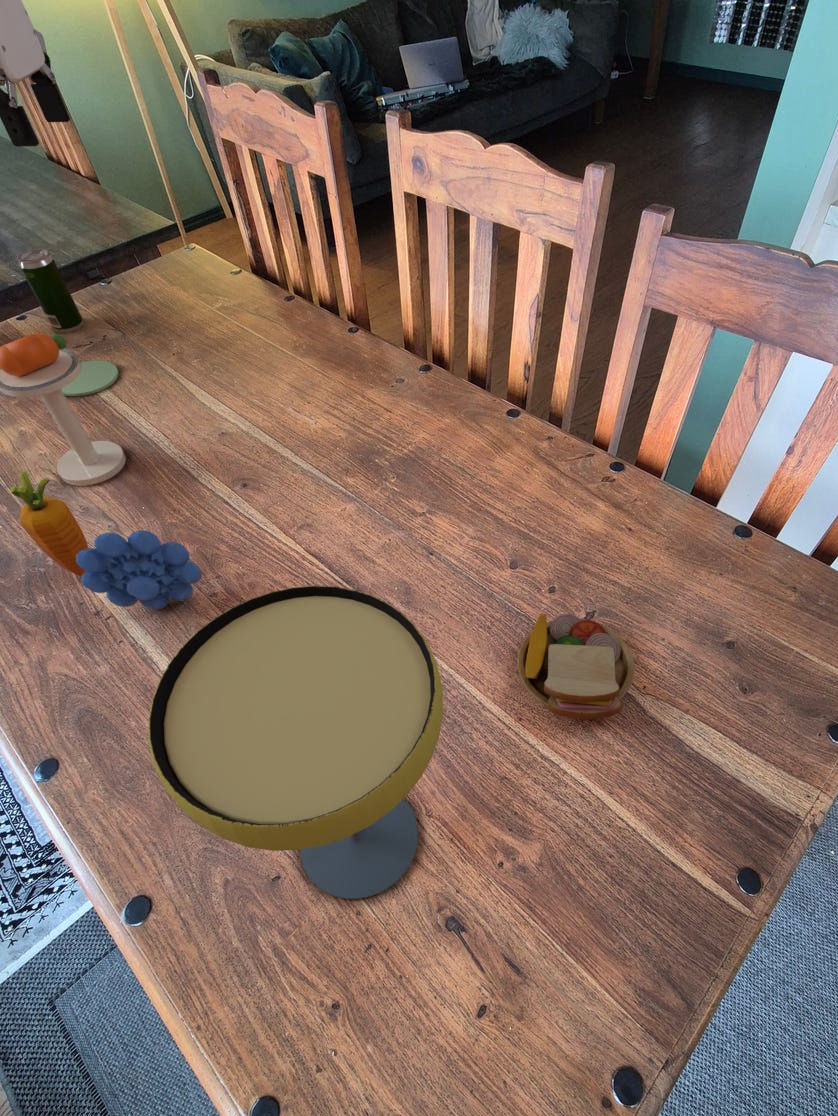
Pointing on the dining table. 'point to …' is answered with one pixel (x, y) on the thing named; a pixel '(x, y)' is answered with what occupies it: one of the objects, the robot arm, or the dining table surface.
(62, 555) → the carrot
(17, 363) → the carrot
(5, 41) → the robot arm
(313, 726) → the cocktail glass
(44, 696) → the dining table surface
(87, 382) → the mat
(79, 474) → the cake stand
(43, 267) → the beer can
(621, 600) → the dining table surface
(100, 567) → the blue knobbed flower
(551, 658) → the toy sandwich meal
